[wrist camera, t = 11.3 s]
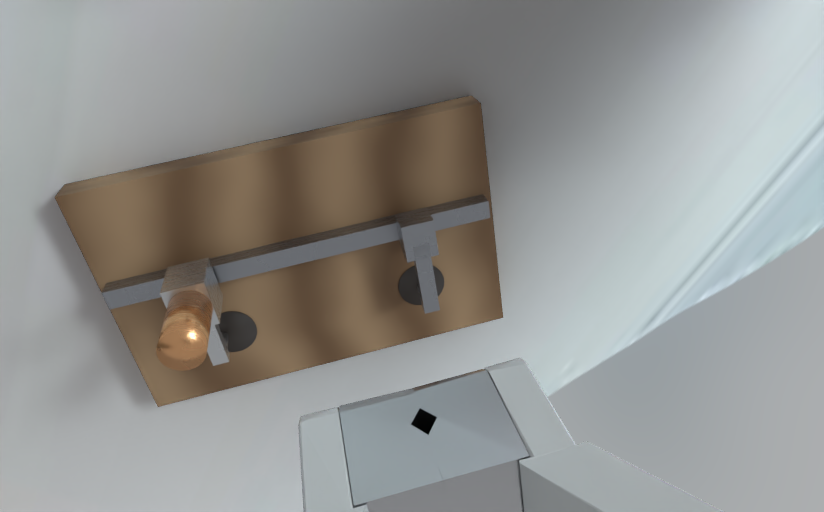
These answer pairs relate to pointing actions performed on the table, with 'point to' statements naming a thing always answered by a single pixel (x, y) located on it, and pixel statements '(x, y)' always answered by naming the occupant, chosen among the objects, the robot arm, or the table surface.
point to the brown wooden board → (291, 218)
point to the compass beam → (330, 250)
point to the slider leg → (191, 317)
